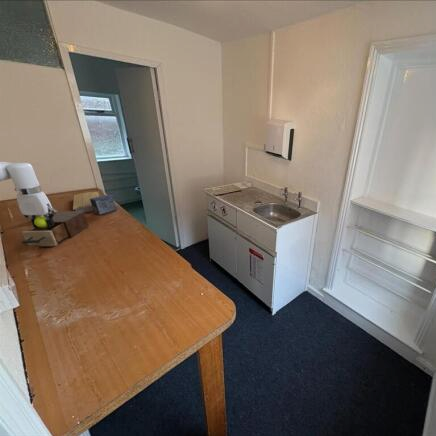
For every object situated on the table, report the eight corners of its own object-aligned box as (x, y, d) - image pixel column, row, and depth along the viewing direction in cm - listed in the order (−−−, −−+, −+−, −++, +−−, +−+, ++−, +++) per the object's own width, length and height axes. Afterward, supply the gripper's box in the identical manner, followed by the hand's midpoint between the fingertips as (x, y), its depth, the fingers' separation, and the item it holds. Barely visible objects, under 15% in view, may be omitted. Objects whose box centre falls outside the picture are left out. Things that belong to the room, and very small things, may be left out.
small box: (111, 208, 160) (107, 194, 156) (117, 210, 158) (113, 195, 154) (93, 213, 152) (89, 198, 147) (99, 215, 149) (94, 200, 145)
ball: (35, 230, 110) (31, 219, 107) (37, 226, 114) (33, 215, 111) (52, 227, 113) (48, 217, 111) (53, 223, 117) (49, 213, 115)
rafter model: (102, 209, 158) (100, 201, 155) (74, 214, 149) (71, 205, 147) (99, 196, 182) (97, 188, 180) (75, 199, 173) (72, 191, 171)
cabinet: (71, 238, 122) (65, 221, 118) (43, 239, 120) (36, 222, 116) (89, 226, 135) (84, 210, 131) (64, 226, 133) (58, 211, 129)
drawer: (48, 250, 108) (41, 236, 105) (19, 252, 106) (12, 237, 103) (74, 233, 125) (70, 220, 122) (50, 233, 123) (44, 220, 120)
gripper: (-1, 193, 101) (17, 230, 108) (44, 192, 104) (58, 229, 111) (15, 188, 108) (30, 223, 115) (57, 188, 111) (69, 222, 118)
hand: (44, 225), depth 113 cm, fingers closed on ball, 5 cm apart
